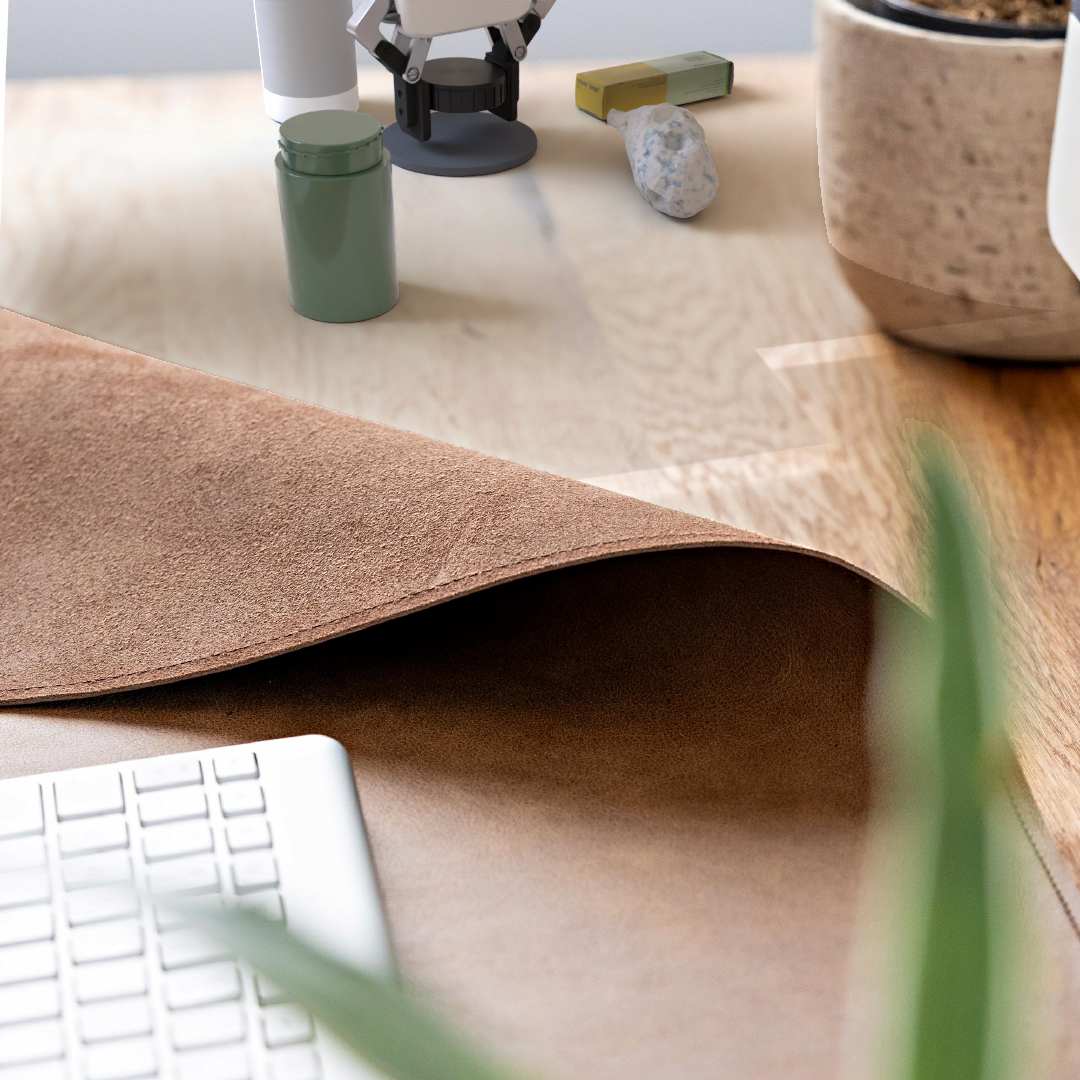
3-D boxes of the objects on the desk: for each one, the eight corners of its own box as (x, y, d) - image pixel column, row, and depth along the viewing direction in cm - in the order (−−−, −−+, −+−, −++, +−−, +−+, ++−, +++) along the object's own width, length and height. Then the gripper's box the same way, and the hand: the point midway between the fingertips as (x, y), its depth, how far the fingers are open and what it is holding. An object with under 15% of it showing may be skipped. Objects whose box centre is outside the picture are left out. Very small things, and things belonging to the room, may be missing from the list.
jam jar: (296, 328, 68) (277, 152, 63) (284, 279, 73) (265, 111, 67) (408, 316, 70) (398, 142, 64) (389, 268, 74) (378, 102, 68)
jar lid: (493, 80, 91) (493, 54, 90) (516, 110, 86) (516, 83, 85) (403, 86, 89) (402, 59, 88) (420, 116, 84) (419, 88, 83)
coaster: (394, 182, 84) (393, 173, 84) (367, 125, 93) (367, 116, 92) (555, 168, 87) (555, 159, 86) (515, 113, 95) (515, 105, 95)
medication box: (732, 97, 99) (701, 82, 101) (736, 61, 97) (704, 47, 100) (601, 123, 94) (572, 106, 96) (603, 85, 92) (573, 70, 95)
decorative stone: (750, 223, 80) (759, 143, 77) (646, 230, 79) (651, 149, 76) (688, 146, 90) (695, 73, 87) (596, 152, 89) (599, 78, 86)
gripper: (532, -188, 84) (530, 88, 95) (294, -164, 76) (321, 133, 87) (602, -170, 79) (591, 117, 90) (355, -143, 72) (376, 169, 82)
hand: (458, 123), depth 89 cm, fingers closed on jar lid, 6 cm apart
